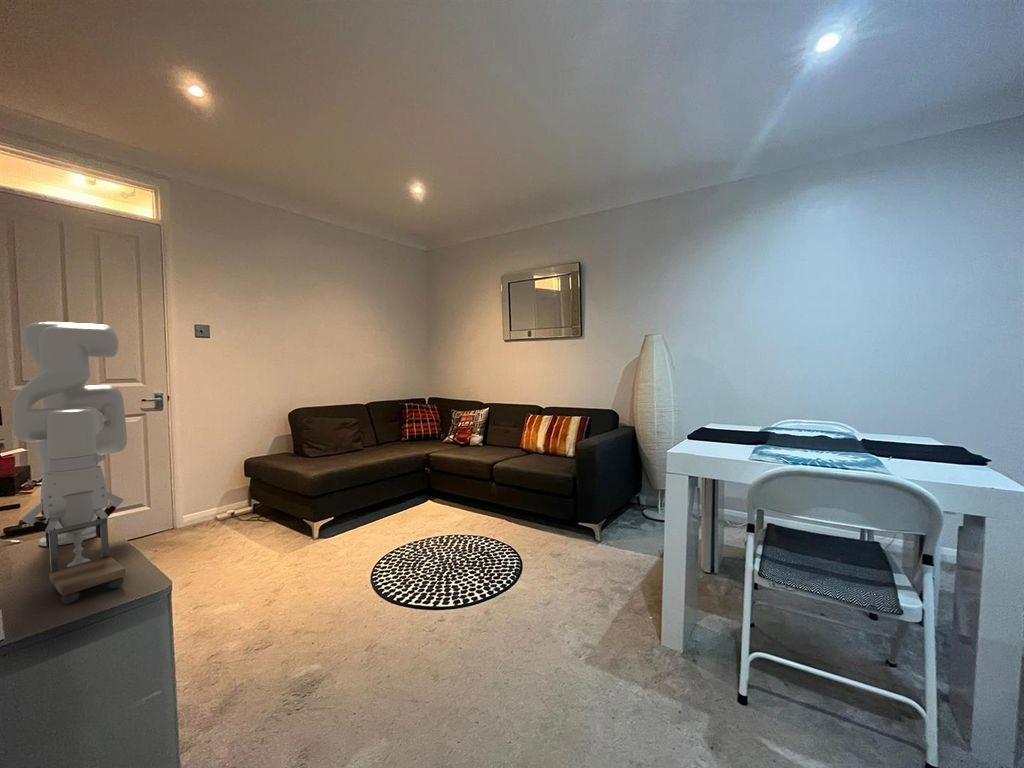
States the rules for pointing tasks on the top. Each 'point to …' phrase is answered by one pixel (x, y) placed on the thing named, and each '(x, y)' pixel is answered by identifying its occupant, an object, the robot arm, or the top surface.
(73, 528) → the cart
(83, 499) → the chalice
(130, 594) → the top surface
